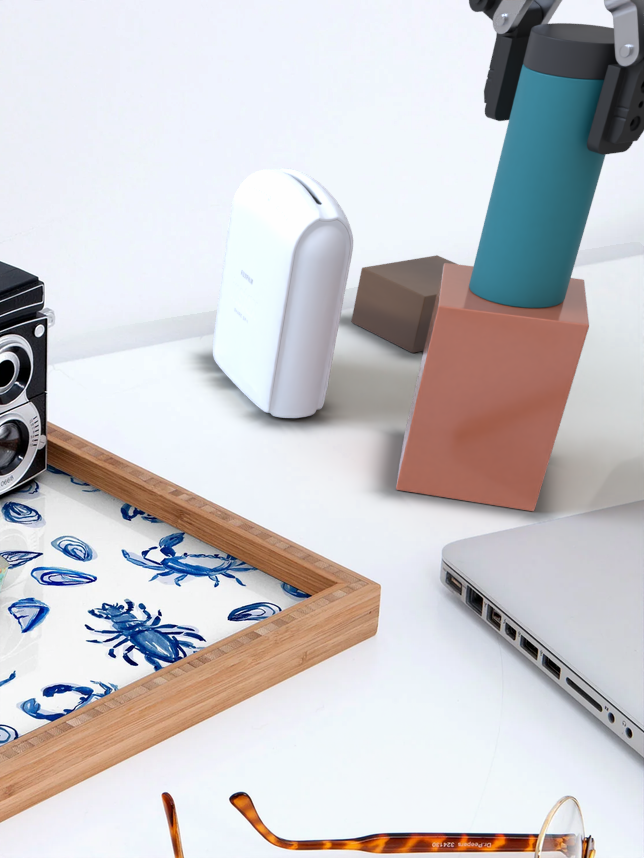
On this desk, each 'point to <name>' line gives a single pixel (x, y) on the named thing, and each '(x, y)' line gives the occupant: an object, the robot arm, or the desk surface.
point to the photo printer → (282, 291)
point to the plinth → (490, 394)
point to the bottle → (545, 169)
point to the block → (399, 300)
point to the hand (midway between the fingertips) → (555, 133)
